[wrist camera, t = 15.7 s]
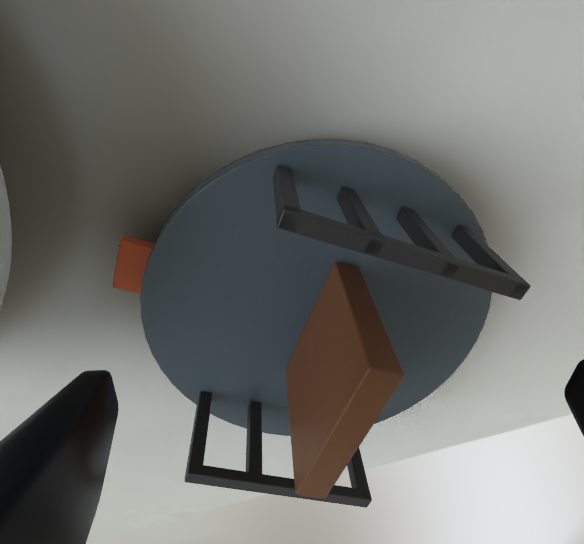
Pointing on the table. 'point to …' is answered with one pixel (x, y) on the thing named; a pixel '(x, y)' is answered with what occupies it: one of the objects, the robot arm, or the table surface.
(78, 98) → the table surface
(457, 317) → the drying rack
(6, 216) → the serving bowl
